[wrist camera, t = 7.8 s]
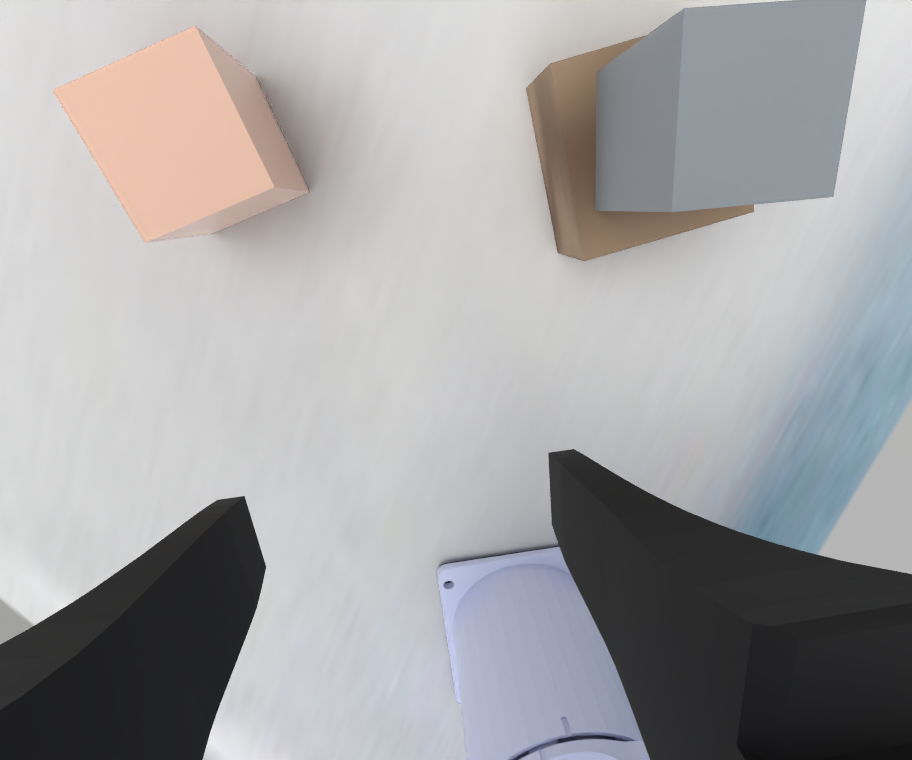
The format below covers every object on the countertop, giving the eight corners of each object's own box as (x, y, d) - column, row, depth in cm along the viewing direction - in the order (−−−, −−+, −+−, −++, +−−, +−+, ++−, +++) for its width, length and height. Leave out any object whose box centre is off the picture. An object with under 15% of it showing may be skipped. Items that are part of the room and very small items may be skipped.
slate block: (711, 199, 16) (833, 196, 12) (595, 210, 16) (671, 212, 11) (723, 61, 15) (867, -5, 10) (596, 71, 15) (684, 8, 10)
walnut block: (697, 210, 20) (753, 211, 17) (555, 252, 20) (584, 261, 17) (682, 43, 18) (743, 6, 14) (524, 90, 18) (550, 63, 15)
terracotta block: (310, 192, 18) (274, 187, 13) (213, 233, 18) (144, 242, 14) (255, 76, 17) (195, 25, 12) (151, 122, 17) (52, 90, 12)
